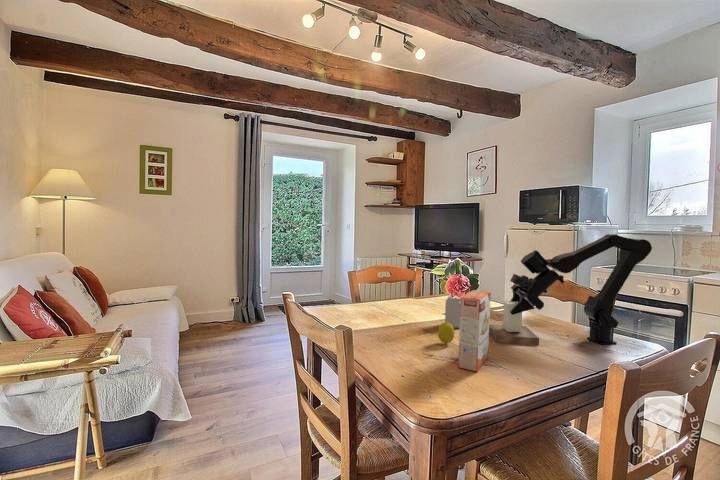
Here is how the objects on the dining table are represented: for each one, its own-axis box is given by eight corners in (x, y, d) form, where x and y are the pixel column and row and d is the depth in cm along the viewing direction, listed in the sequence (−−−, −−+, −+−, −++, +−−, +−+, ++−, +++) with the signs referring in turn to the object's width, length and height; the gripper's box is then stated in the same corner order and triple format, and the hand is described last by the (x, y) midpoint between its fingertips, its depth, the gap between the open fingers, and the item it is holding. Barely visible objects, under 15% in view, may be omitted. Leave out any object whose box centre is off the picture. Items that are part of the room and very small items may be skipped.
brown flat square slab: (525, 333, 135) (525, 326, 135) (538, 346, 121) (539, 337, 121) (487, 331, 137) (487, 324, 137) (496, 344, 123) (496, 335, 123)
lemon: (457, 344, 121) (457, 321, 121) (449, 348, 117) (449, 324, 117) (442, 340, 125) (443, 318, 125) (434, 344, 121) (435, 321, 121)
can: (465, 329, 138) (465, 299, 137) (445, 328, 139) (446, 298, 139) (463, 324, 145) (464, 295, 145) (444, 323, 147) (445, 294, 146)
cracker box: (478, 373, 98) (480, 299, 97) (457, 368, 101) (459, 296, 100) (489, 357, 110) (491, 291, 109) (470, 353, 113) (471, 289, 112)
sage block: (517, 327, 131) (517, 301, 131) (521, 332, 126) (522, 304, 126) (503, 327, 132) (503, 301, 131) (507, 331, 127) (507, 304, 126)
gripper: (516, 263, 137) (486, 291, 139) (535, 270, 118) (500, 301, 120) (537, 284, 136) (507, 311, 138) (559, 294, 118) (523, 325, 120)
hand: (508, 311), depth 129 cm, fingers closed on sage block, 5 cm apart
